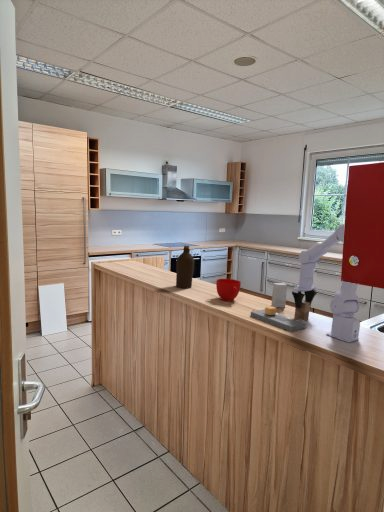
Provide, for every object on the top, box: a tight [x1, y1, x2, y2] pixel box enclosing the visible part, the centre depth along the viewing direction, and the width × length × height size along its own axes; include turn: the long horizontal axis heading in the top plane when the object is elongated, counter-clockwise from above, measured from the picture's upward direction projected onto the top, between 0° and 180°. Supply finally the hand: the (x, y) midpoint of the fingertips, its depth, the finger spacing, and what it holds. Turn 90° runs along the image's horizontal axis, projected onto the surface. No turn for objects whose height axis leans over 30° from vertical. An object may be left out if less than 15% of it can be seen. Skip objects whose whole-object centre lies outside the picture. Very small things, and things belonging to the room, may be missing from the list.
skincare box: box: [271, 282, 288, 309], centre depth 168 cm, size 6×4×12 cm
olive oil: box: [175, 245, 195, 289], centre depth 198 cm, size 11×11×25 cm
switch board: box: [250, 308, 307, 332], centre depth 144 cm, size 22×10×2 cm, turn 37°
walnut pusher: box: [294, 300, 311, 321], centre depth 151 cm, size 5×4×8 cm
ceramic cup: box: [215, 278, 242, 302], centre depth 174 cm, size 13×17×10 cm
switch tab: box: [264, 305, 278, 315], centre depth 146 cm, size 3×4×3 cm
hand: (302, 306), depth 151 cm, fingers open, 7 cm apart
